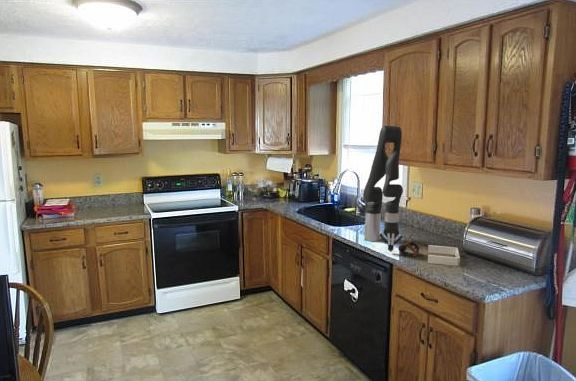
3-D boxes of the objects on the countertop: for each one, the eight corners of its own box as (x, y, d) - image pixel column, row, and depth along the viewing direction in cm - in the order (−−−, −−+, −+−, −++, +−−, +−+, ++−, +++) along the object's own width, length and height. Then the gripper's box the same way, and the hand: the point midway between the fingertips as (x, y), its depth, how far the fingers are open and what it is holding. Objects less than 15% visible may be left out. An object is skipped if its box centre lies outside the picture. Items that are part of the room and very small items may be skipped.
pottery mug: (406, 251, 227) (414, 240, 224) (416, 263, 220) (424, 251, 217) (391, 249, 221) (399, 237, 218) (400, 261, 214) (409, 249, 211)
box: (427, 262, 206) (428, 255, 205) (428, 252, 224) (428, 245, 224) (459, 266, 201) (459, 258, 200) (457, 254, 219) (457, 247, 219)
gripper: (404, 219, 220) (403, 250, 222) (380, 218, 224) (379, 248, 227) (403, 222, 213) (402, 254, 215) (378, 221, 217) (377, 251, 220)
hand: (390, 251), depth 221 cm, fingers closed
